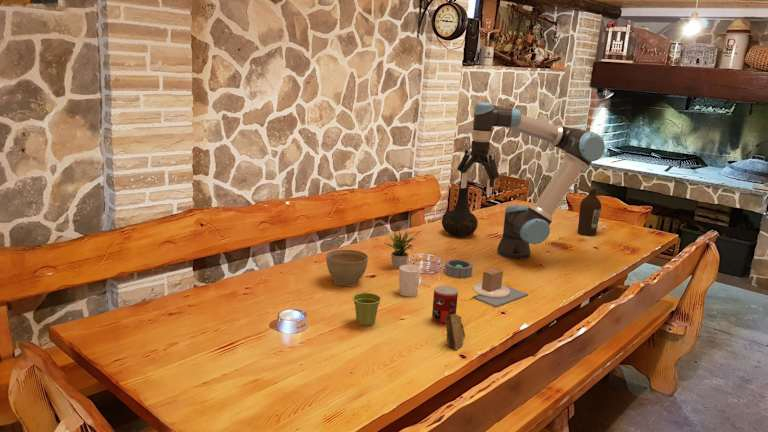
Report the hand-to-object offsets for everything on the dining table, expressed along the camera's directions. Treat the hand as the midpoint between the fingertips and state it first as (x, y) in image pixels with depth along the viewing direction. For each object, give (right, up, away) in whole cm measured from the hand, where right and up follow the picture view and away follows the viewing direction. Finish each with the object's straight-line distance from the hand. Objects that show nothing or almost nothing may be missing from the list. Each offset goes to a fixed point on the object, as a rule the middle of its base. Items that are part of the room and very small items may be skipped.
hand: (475, 191), depth 260 cm
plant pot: (-45, -46, -54) cm, 84 cm away
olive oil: (+69, -20, +69) cm, 100 cm away
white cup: (-29, -40, -27) cm, 56 cm away
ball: (-8, -34, -5) cm, 35 cm away
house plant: (-32, -33, -2) cm, 46 cm away
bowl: (-8, -35, -5) cm, 36 cm away
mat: (+3, -40, -22) cm, 45 cm away
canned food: (-18, -46, -49) cm, 69 cm away
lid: (+3, -39, -22) cm, 45 cm away
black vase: (-1, -20, +53) cm, 57 cm away
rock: (-15, -50, -64) cm, 83 cm away
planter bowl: (-53, -36, -20) cm, 67 cm away
